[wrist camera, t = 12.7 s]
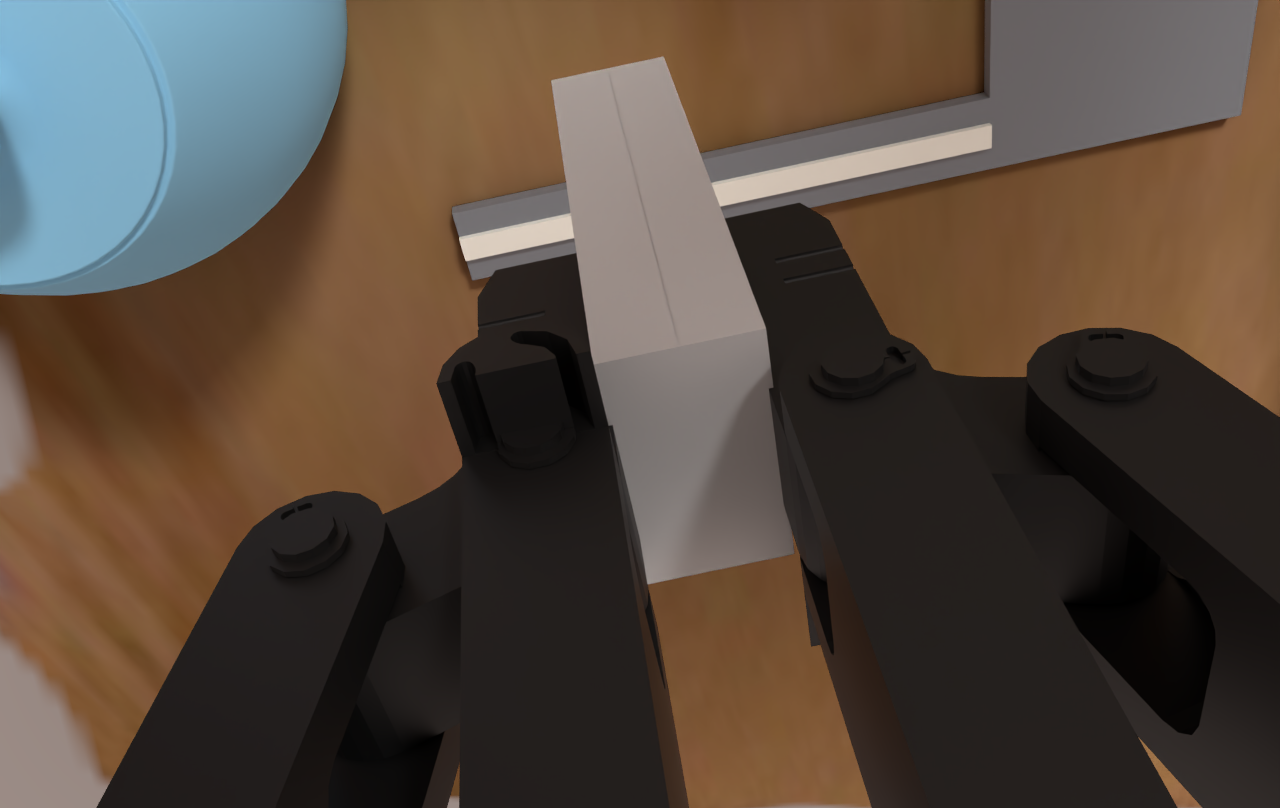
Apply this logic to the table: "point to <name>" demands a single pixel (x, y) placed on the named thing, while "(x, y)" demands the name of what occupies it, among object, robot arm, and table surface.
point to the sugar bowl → (152, 130)
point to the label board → (955, 117)
